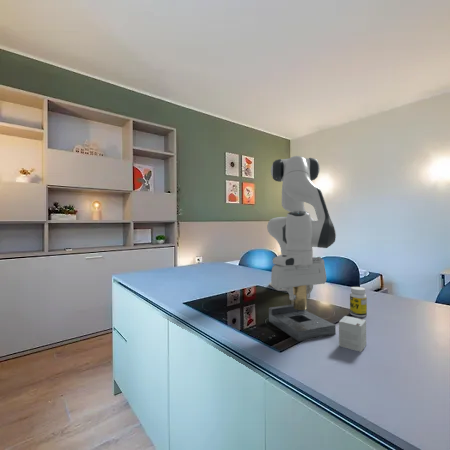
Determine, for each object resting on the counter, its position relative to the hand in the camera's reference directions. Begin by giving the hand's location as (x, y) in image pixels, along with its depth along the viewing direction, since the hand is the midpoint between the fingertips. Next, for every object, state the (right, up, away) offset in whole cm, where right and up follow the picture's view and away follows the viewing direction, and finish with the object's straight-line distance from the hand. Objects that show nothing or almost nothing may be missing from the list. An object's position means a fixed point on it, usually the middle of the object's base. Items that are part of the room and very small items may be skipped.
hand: (299, 298), depth 91 cm
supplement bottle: (+26, -10, +12) cm, 30 cm away
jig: (0, -10, 0) cm, 10 cm away
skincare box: (+12, -10, -14) cm, 20 cm away
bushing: (0, -3, 0) cm, 3 cm away
